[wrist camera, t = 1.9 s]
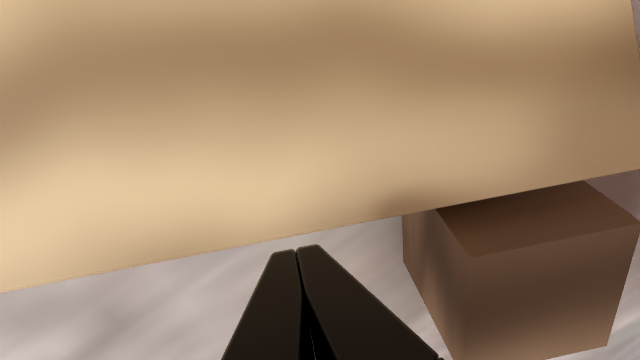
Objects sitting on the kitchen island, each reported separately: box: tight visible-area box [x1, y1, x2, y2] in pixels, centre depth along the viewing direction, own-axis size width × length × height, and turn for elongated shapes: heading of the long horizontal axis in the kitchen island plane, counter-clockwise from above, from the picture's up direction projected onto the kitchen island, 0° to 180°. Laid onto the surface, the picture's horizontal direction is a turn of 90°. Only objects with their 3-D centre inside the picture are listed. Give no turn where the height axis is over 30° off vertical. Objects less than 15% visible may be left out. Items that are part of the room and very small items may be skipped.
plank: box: [0, 0, 640, 293], centre depth 12 cm, size 8×20×2 cm, turn 95°
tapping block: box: [402, 180, 640, 360], centre depth 16 cm, size 5×5×6 cm
